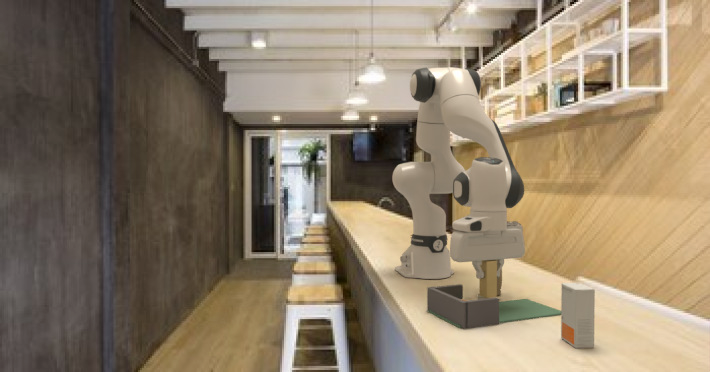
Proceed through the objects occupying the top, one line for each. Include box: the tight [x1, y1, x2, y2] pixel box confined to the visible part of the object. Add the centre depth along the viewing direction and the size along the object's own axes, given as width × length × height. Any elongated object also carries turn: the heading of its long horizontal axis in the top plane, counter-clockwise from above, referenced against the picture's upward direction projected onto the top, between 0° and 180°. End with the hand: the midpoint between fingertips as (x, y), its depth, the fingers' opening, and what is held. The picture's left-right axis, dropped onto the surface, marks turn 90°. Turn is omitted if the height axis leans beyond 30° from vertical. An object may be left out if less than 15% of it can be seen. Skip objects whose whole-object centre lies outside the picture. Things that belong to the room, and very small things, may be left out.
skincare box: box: [560, 282, 596, 349], centre depth 105 cm, size 6×4×12 cm
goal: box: [426, 283, 500, 330], centre depth 124 cm, size 16×10×6 cm, turn 21°
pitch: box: [426, 298, 561, 329], centre depth 128 cm, size 15×31×1 cm, turn 111°
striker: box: [477, 260, 498, 300], centre depth 126 cm, size 6×3×13 cm, turn 21°
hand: (488, 277), depth 126 cm, fingers closed on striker, 3 cm apart
